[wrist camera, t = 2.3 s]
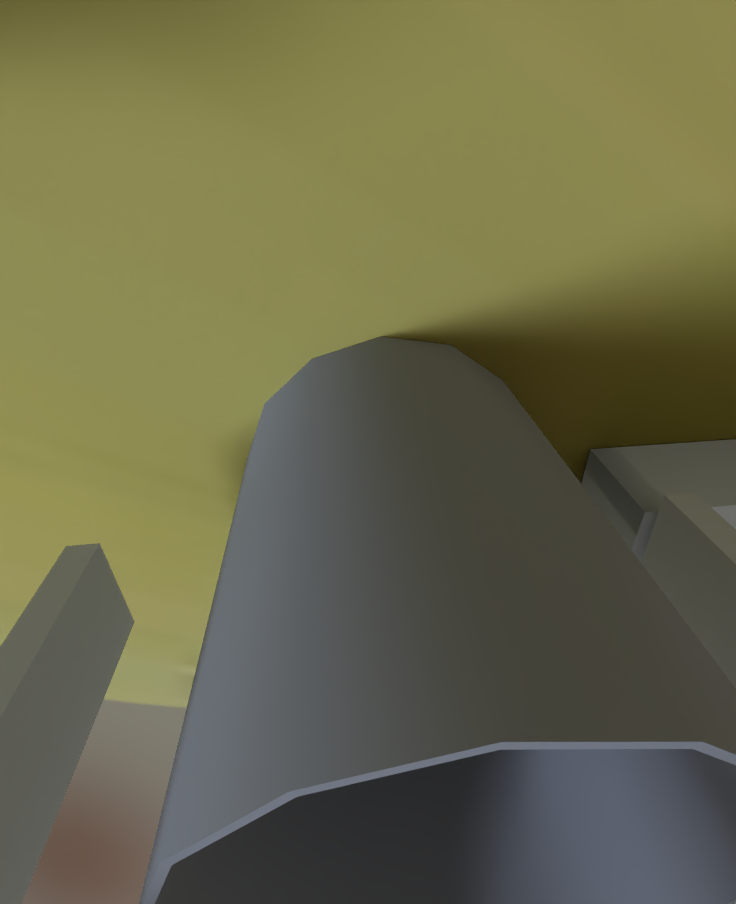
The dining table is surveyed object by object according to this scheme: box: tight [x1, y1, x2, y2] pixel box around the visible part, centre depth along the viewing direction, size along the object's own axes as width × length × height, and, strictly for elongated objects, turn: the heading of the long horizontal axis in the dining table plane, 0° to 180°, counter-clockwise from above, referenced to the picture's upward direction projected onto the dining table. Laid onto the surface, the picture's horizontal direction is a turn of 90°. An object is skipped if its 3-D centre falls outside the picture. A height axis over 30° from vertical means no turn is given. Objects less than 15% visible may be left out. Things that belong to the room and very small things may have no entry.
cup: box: [139, 336, 736, 904], centre depth 10 cm, size 8×8×10 cm
